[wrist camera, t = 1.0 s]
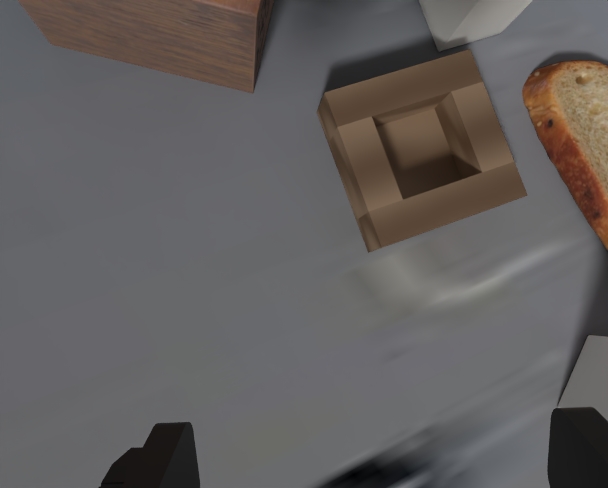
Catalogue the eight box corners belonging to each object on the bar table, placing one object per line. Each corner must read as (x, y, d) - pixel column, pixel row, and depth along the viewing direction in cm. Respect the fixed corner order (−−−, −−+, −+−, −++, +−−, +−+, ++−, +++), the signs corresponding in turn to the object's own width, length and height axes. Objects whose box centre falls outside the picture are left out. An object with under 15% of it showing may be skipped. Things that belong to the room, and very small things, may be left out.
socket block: (316, 112, 36) (324, 92, 33) (449, 71, 38) (470, 48, 34) (368, 252, 36) (381, 247, 32) (501, 205, 37) (527, 195, 34)
